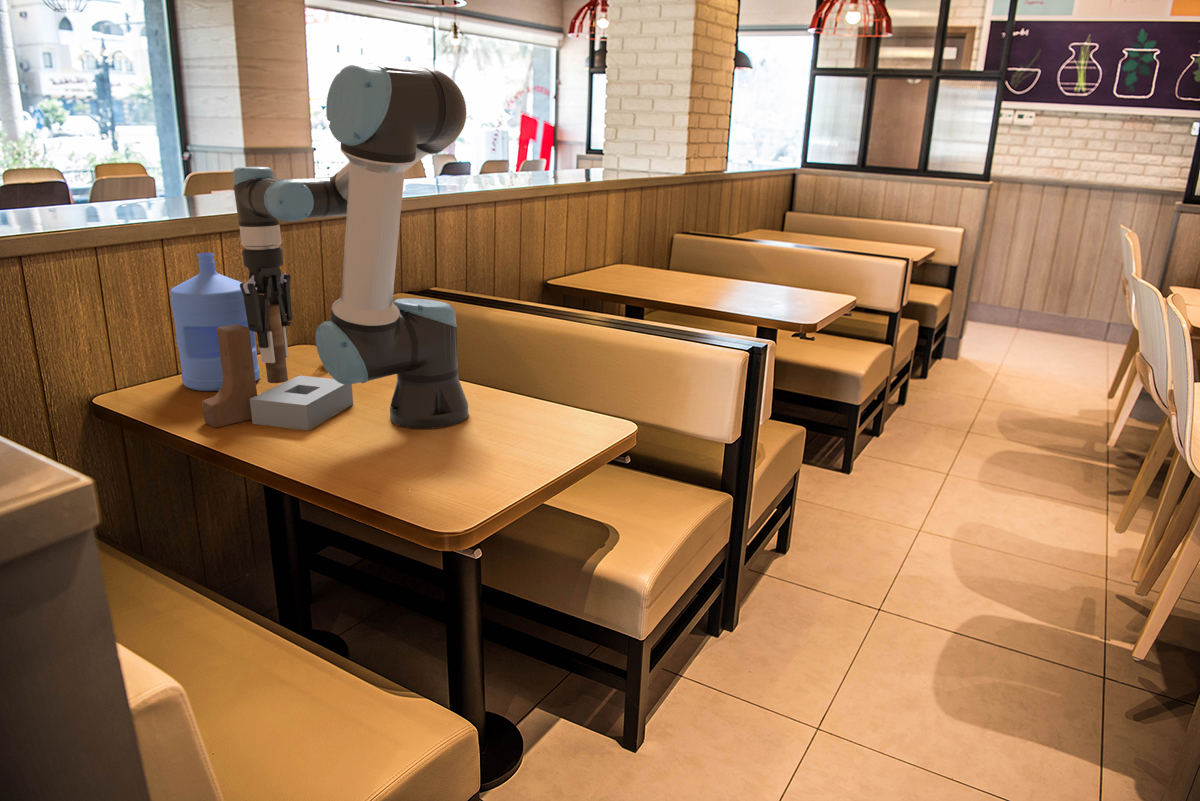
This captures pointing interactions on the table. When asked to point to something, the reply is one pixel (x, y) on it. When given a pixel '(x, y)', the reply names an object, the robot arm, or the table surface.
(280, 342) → the pin
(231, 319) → the water jug
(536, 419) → the table surface
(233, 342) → the brown boot
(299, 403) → the socket board
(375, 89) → the robot arm
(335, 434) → the table surface
